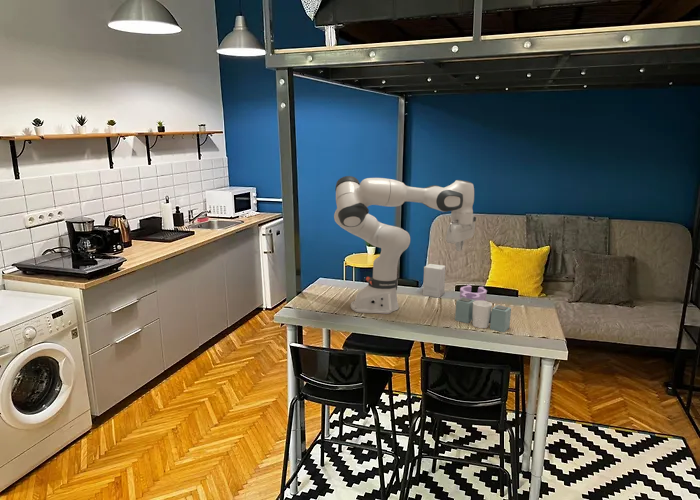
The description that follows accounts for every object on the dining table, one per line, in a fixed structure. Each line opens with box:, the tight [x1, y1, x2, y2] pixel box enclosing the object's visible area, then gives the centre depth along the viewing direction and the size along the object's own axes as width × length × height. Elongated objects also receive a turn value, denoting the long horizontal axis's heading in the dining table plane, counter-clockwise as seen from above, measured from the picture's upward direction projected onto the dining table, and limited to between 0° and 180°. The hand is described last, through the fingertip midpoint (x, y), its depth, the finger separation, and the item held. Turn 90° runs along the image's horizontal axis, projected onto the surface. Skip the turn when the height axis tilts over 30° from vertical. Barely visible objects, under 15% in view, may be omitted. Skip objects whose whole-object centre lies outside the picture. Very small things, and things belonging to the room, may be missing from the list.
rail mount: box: [454, 297, 512, 333], centre depth 216 cm, size 8×22×9 cm, turn 53°
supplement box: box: [422, 263, 447, 298], centre depth 255 cm, size 9×9×15 cm
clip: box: [459, 284, 488, 301], centre depth 242 cm, size 20×12×7 cm, turn 158°
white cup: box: [471, 300, 493, 329], centre depth 214 cm, size 8×8×10 cm
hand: (459, 250), depth 215 cm, fingers closed
